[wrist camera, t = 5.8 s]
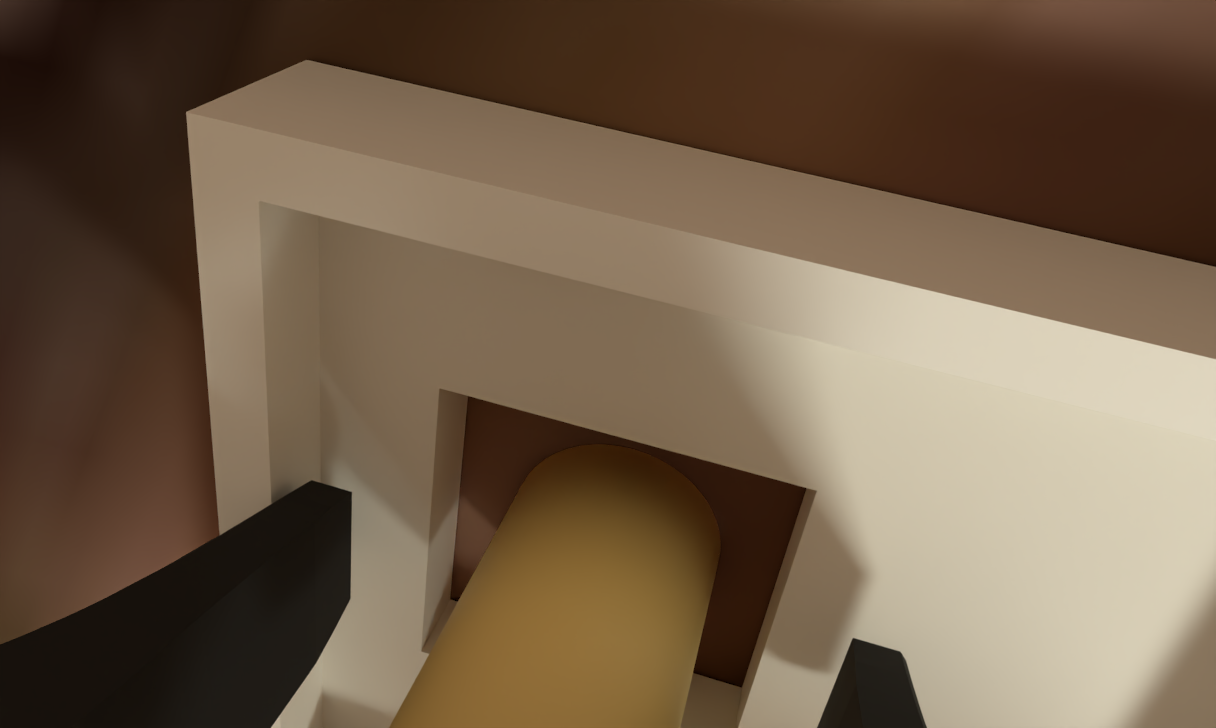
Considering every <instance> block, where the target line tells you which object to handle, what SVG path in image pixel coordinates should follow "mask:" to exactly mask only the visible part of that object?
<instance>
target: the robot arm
mask: <svg viewBox="0 0 1216 728" xmlns="http://www.w3.org/2000/svg"><path fill="white" fill-rule="evenodd" d="M351 527H352V492H351V491H347V490H344V489H340V488H337V487H334V486H330V485H327V484H323V483H320V482H316V481H313V480H311V481H309V482H307V483H306V484H304V485H302V486H301V487H299V488H297V489H295V490H294V491H292V492H290V493H289V494H287V495H285V496H284V497H282V498H280V499H279V500H277V501H275V502H274V503H272V504H270V505H269V506H267V507H265V508H264V509H262V510H261V511H259V512H257V513H256V514H254V515H252V516H251V517H249V518H247V519H246V520H244V521H243V522H241V523H239V524H238V525H236V526H234V527H233V528H231V529H229V530H228V531H226V532H224V533H223V534H221V535H219V536H218V537H216V538H214V539H212V540H211V541H209V542H207V543H205V544H204V545H202V546H200V547H199V548H197V549H195V550H193V551H192V552H190V553H188V554H186V555H185V556H183V557H181V558H180V559H178V560H176V561H174V562H173V563H171V564H169V565H167V566H165V567H164V568H162V569H160V570H158V571H156V572H154V573H152V574H151V575H149V576H147V577H145V578H143V579H141V580H139V581H137V582H135V583H133V584H132V585H130V586H128V587H126V588H124V589H122V590H120V591H118V592H116V593H114V594H112V595H111V596H109V597H107V598H105V599H103V600H101V601H99V602H97V603H95V604H93V605H90V606H88V607H86V608H84V609H82V610H80V611H78V612H76V613H73V614H71V615H69V616H67V617H65V618H62V619H60V620H58V621H56V622H53V623H51V624H49V625H46V626H44V627H42V628H39V629H37V630H35V631H32V632H30V633H28V634H26V635H23V636H21V637H18V638H16V639H13V640H11V641H8V642H6V643H3V644H0V728H271V727H272V726H273V724H274V723H275V721H276V720H277V719H278V717H279V716H280V714H281V713H282V711H283V710H284V709H285V707H286V706H287V704H288V703H289V702H290V700H291V699H292V697H293V696H294V694H295V693H296V692H297V690H298V689H299V687H300V686H301V684H302V683H303V682H304V680H305V679H306V677H307V676H308V674H309V673H310V671H311V670H312V668H313V667H314V666H315V664H316V663H317V661H318V659H319V657H320V655H321V654H322V652H323V650H324V648H325V646H326V645H327V643H328V641H329V639H330V637H331V635H332V634H333V632H334V630H335V628H336V626H337V624H338V622H339V620H340V618H341V616H342V614H343V612H344V611H345V609H346V607H347V605H348V603H349V601H350V599H351ZM817 728H927V726H926V724H925V721H924V718H923V715H922V712H921V709H920V706H919V702H918V699H917V696H916V693H915V690H914V686H913V683H912V680H911V676H910V673H909V669H908V666H907V662H906V660H905V658H904V656H903V655H902V653H901V652H900V651H897V650H893V649H890V648H887V647H883V646H880V645H876V644H873V643H869V642H866V641H862V640H859V639H856V638H852V641H851V643H850V646H849V648H848V651H847V654H846V656H845V659H844V661H843V664H842V666H841V669H840V671H839V674H838V676H837V679H836V681H835V684H834V686H833V689H832V691H831V694H830V696H829V699H828V701H827V704H826V706H825V709H824V711H823V714H822V717H821V719H820V722H819V724H818V727H817Z"/></svg>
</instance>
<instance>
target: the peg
mask: <svg viewBox="0 0 1216 728" xmlns="http://www.w3.org/2000/svg"><path fill="white" fill-rule="evenodd" d="M720 548H721V540H720V533H719V528H718V524H717V521H716V518H715V516H714V514H713V511H712V509H711V507H710V506H709V504H708V502H707V501H706V499H705V498H704V496H703V495H702V494H701V493H700V491H699V490H698V489H697V488H696V486H695V485H694V484H692V483H691V482H690V481H689V480H688V479H687V478H686V477H685V476H684V475H683V474H681V473H680V472H679V471H677V470H676V469H675V468H673V467H672V466H670V465H668V464H667V463H665V462H663V461H662V460H660V459H658V458H655V457H653V456H651V455H649V454H646V453H643V452H641V451H638V450H635V449H631V448H626V447H622V446H615V445H606V444H591V445H582V446H576V447H572V448H568V449H565V450H562V451H560V452H557V453H555V454H553V455H551V456H550V457H548V458H546V459H544V460H543V461H542V462H541V463H539V464H538V465H537V466H536V467H535V468H534V469H533V470H532V471H531V472H530V473H529V474H528V476H527V477H526V479H525V480H524V482H523V484H522V485H521V487H520V489H519V491H518V493H517V495H516V496H515V498H514V500H513V502H512V504H511V506H510V507H509V509H508V511H507V513H506V515H505V516H504V518H503V520H502V522H501V524H500V526H499V527H498V529H497V531H496V533H495V535H494V537H493V538H492V540H491V542H490V544H489V546H488V548H487V549H486V551H485V553H484V555H483V557H482V559H481V560H480V562H479V564H478V566H477V568H476V570H475V571H474V573H473V575H472V577H471V579H470V580H469V582H468V584H467V586H466V588H465V590H464V591H463V593H462V595H461V597H460V599H459V601H458V602H457V604H456V606H455V608H454V610H453V612H452V613H451V615H450V617H449V619H448V621H447V623H446V624H445V626H444V628H443V630H442V632H441V634H440V635H439V637H438V639H437V641H436V643H435V644H434V646H433V648H432V650H431V652H430V654H429V655H428V657H427V659H426V661H425V663H424V665H423V666H422V668H421V670H420V672H419V674H418V676H417V677H416V679H415V681H414V683H413V685H412V687H411V688H410V690H409V692H408V694H407V696H406V698H405V699H404V701H403V703H402V705H401V707H400V708H399V710H398V712H397V714H396V716H395V718H394V719H393V721H392V723H391V725H390V727H389V728H680V727H681V723H682V718H683V714H684V710H685V705H686V701H687V697H688V692H689V688H690V684H691V679H692V675H693V670H694V666H695V662H696V657H697V653H698V649H699V644H700V640H701V636H702V631H703V627H704V623H705V618H706V614H707V610H708V605H709V601H710V597H711V592H712V588H713V584H714V579H715V575H716V571H717V566H718V562H719V557H720Z"/></svg>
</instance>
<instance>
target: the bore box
mask: <svg viewBox="0 0 1216 728" xmlns="http://www.w3.org/2000/svg"><path fill="white" fill-rule="evenodd" d="M186 118H187V130H188V143H189V155H190V168H191V181H192V193H193V206H194V219H195V231H196V244H197V256H198V269H199V282H200V294H201V307H202V319H203V332H204V345H205V357H206V370H207V382H208V395H209V408H210V420H211V433H212V446H213V458H214V471H215V483H216V496H217V509H218V521H219V534H220V535H221V534H223V533H224V532H226V531H228V530H229V529H231V528H233V527H234V526H236V525H238V524H239V523H241V522H243V521H244V520H246V519H247V518H249V517H251V516H252V515H254V514H256V513H257V512H259V511H261V510H262V509H264V508H265V507H267V506H269V505H270V504H272V503H274V502H275V501H277V500H279V499H280V498H282V497H284V496H285V495H287V494H289V493H290V492H292V491H294V490H295V489H297V488H299V487H301V486H302V485H304V484H306V483H307V482H309V481H311V480H313V481H316V482H320V483H323V484H327V485H330V486H334V487H337V488H340V489H344V490H347V491H351V492H352V527H351V599H350V601H349V603H348V605H347V607H346V609H345V611H344V612H343V614H342V616H341V618H340V620H339V622H338V624H337V626H336V628H335V630H334V632H333V634H332V635H331V637H330V639H329V641H328V643H327V645H326V646H325V648H324V650H323V652H322V654H321V655H320V657H319V659H318V661H317V663H316V664H315V666H314V667H313V668H312V670H311V671H310V673H309V674H308V676H307V677H306V679H305V680H304V682H303V683H302V684H301V686H300V687H299V689H298V690H297V692H296V693H295V694H294V696H293V697H292V699H291V700H290V702H289V703H288V704H287V706H286V707H285V709H284V710H283V711H282V713H281V714H280V716H279V717H278V719H277V720H276V721H275V723H274V724H273V726H272V727H271V728H389V727H390V725H391V723H392V721H393V719H394V718H395V716H396V714H397V712H398V710H399V708H400V707H401V705H402V703H403V701H404V699H405V698H406V696H407V694H408V692H409V690H410V688H411V687H412V685H413V683H414V681H415V679H416V677H417V676H418V674H419V672H420V670H421V668H422V666H423V665H424V663H425V661H426V659H427V657H428V655H429V654H430V652H431V650H432V648H433V646H434V644H435V643H436V641H437V639H438V637H439V635H440V634H441V632H442V630H443V628H444V626H445V624H446V623H447V621H448V619H449V617H450V615H451V613H452V612H453V610H454V608H455V606H456V604H457V601H453V600H450V596H451V584H452V573H453V562H454V550H455V539H456V527H457V516H458V505H459V493H460V482H461V470H462V459H463V448H464V436H465V425H466V413H467V402H468V396H470V397H474V398H477V399H481V400H485V401H488V402H492V403H496V404H499V405H503V406H507V407H510V408H514V409H518V410H521V411H525V412H529V413H532V414H536V415H540V416H543V417H547V418H551V419H555V420H558V421H562V422H566V423H569V424H573V425H577V426H580V427H584V428H588V429H591V430H595V431H599V432H602V433H606V434H610V435H613V436H617V437H621V438H624V439H628V440H632V441H635V442H639V443H643V444H646V445H650V446H654V447H657V448H661V449H665V450H669V451H672V452H676V453H680V454H683V455H687V456H691V457H694V458H698V459H702V460H705V461H709V462H713V463H716V464H720V465H724V466H727V467H731V468H735V469H738V470H742V471H746V472H749V473H753V474H757V475H760V476H764V477H768V478H771V479H775V480H779V481H782V482H786V483H790V484H794V485H797V486H801V487H805V488H807V489H806V492H805V495H804V498H803V501H802V504H801V507H800V510H799V513H798V516H797V519H796V522H795V525H794V529H793V532H792V535H791V538H790V541H789V544H788V547H787V550H786V553H785V556H784V559H783V562H782V566H781V569H780V572H779V575H778V578H777V581H776V584H775V587H774V590H773V593H772V596H771V599H770V602H769V606H768V609H767V612H766V615H765V618H764V621H763V624H762V627H761V630H760V633H759V636H758V639H757V643H756V646H755V649H754V652H753V655H752V658H751V661H750V664H749V667H748V670H747V673H746V676H745V679H744V683H743V686H742V688H741V687H738V686H734V685H731V684H728V683H724V682H721V681H718V680H714V679H711V678H708V677H704V676H701V675H698V674H695V673H693V675H692V679H691V684H690V688H689V692H688V697H687V701H686V705H685V710H684V714H683V718H682V723H681V727H680V728H817V727H818V724H819V722H820V719H821V717H822V714H823V711H824V709H825V706H826V704H827V701H828V699H829V696H830V694H831V691H832V689H833V686H834V684H835V681H836V679H837V676H838V674H839V671H840V669H841V666H842V664H843V661H844V659H845V656H846V654H847V651H848V648H849V646H850V643H851V641H852V638H856V639H859V640H862V641H866V642H869V643H873V644H876V645H880V646H883V647H887V648H890V649H893V650H897V651H900V652H901V653H902V655H903V656H904V658H905V660H906V662H907V666H908V669H909V673H910V676H911V680H912V683H913V686H914V690H915V693H916V696H917V699H918V702H919V706H920V709H921V712H922V715H923V718H924V721H925V724H926V726H927V728H1216V267H1214V266H1209V265H1205V264H1201V263H1196V262H1192V261H1187V260H1183V259H1179V258H1174V257H1170V256H1165V255H1161V254H1157V253H1152V252H1148V251H1144V250H1139V249H1135V248H1130V247H1126V246H1122V245H1117V244H1113V243H1108V242H1104V241H1100V240H1095V239H1091V238H1086V237H1082V236H1078V235H1073V234H1069V233H1065V232H1060V231H1056V230H1051V229H1047V228H1043V227H1038V226H1034V225H1029V224H1025V223H1021V222H1016V221H1012V220H1007V219H1003V218H999V217H994V216H990V215H986V214H981V213H977V212H972V211H968V210H964V209H959V208H955V207H950V206H946V205H942V204H937V203H933V202H928V201H924V200H920V199H915V198H911V197H907V196H902V195H898V194H893V193H889V192H885V191H880V190H876V189H871V188H867V187H863V186H858V185H854V184H850V183H845V182H841V181H836V180H832V179H828V178H823V177H819V176H814V175H810V174H806V173H801V172H797V171H792V170H788V169H784V168H779V167H775V166H771V165H766V164H762V163H757V162H753V161H749V160H744V159H740V158H735V157H731V156H727V155H722V154H718V153H713V152H709V151H705V150H700V149H696V148H692V147H687V146H683V145H678V144H674V143H670V142H665V141H661V140H656V139H652V138H648V137H643V136H639V135H634V134H630V133H626V132H621V131H617V130H613V129H608V128H604V127H599V126H595V125H591V124H586V123H582V122H577V121H573V120H569V119H564V118H560V117H556V116H551V115H547V114H542V113H538V112H534V111H529V110H525V109H520V108H516V107H512V106H507V105H503V104H498V103H494V102H490V101H485V100H481V99H477V98H472V97H468V96H463V95H459V94H455V93H450V92H446V91H441V90H437V89H433V88H428V87H424V86H419V85H415V84H411V83H406V82H402V81H398V80H393V79H389V78H384V77H380V76H376V75H371V74H367V73H362V72H358V71H354V70H349V69H345V68H340V67H336V66H332V65H327V64H323V63H319V62H314V61H310V60H305V61H303V62H300V63H298V64H296V65H293V66H291V67H289V68H286V69H284V70H282V71H280V72H277V73H275V74H273V75H270V76H268V77H266V78H263V79H261V80H259V81H256V82H254V83H252V84H250V85H247V86H245V87H243V88H240V89H238V90H236V91H233V92H231V93H229V94H227V95H224V96H222V97H220V98H217V99H215V100H213V101H210V102H208V103H206V104H203V105H201V106H199V107H197V108H194V109H192V110H190V111H187V112H186Z"/></svg>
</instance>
